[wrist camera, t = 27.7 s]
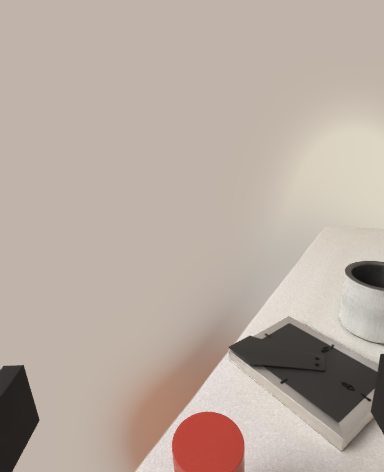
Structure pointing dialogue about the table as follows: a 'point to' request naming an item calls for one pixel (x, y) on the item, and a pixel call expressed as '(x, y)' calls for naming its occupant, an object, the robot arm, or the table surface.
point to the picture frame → (311, 377)
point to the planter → (364, 300)
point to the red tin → (208, 444)
